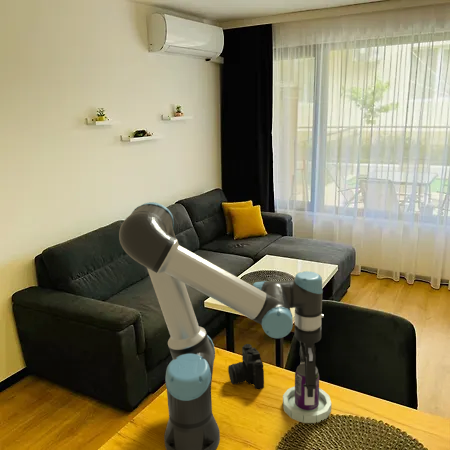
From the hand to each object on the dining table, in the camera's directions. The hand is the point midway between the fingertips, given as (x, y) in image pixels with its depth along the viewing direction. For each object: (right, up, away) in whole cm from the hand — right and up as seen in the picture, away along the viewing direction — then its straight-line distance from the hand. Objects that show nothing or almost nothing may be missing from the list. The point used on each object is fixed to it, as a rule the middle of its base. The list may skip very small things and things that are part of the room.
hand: (306, 392), depth 130 cm
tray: (0, -5, +1) cm, 5 cm away
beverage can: (0, -4, +1) cm, 4 cm away
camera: (-18, -2, +16) cm, 24 cm away
